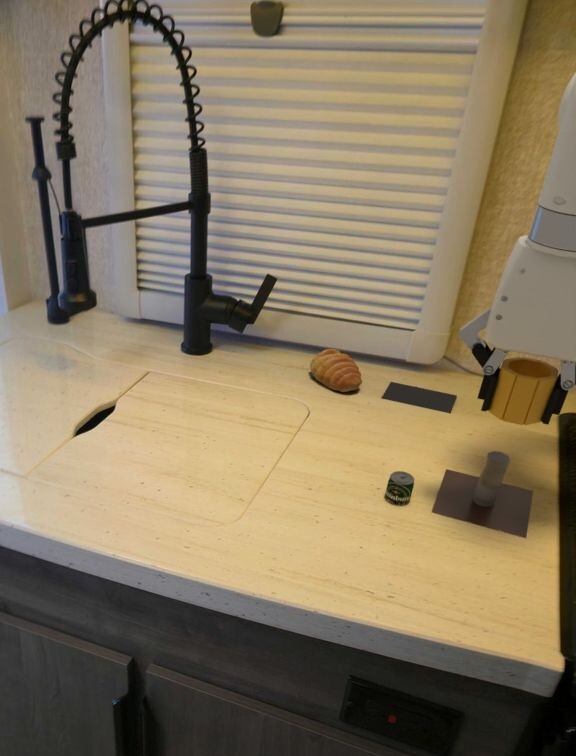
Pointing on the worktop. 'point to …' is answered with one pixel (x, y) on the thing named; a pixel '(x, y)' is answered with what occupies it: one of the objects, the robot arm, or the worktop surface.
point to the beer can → (399, 488)
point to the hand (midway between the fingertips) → (515, 410)
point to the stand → (485, 498)
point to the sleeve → (523, 390)
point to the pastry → (336, 370)
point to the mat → (420, 397)
